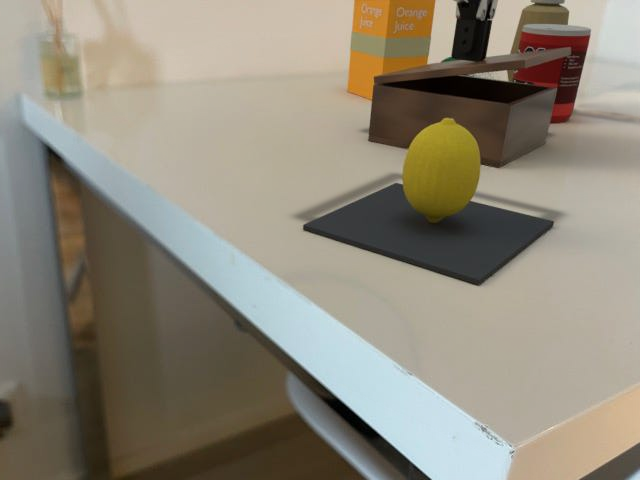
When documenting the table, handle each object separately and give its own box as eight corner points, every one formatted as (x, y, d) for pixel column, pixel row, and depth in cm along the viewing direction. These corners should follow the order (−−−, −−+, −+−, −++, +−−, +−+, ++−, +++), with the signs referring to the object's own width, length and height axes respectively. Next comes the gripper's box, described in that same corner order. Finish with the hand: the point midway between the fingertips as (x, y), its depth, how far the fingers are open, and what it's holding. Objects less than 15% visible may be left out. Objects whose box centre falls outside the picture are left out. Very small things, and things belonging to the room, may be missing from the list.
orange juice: (378, 102, 93) (394, -58, 84) (346, 91, 100) (357, -58, 91) (424, 99, 96) (444, -57, 87) (389, 88, 103) (404, -57, 94)
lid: (571, 54, 70) (571, 46, 70) (524, 68, 61) (524, 59, 61) (430, 70, 81) (430, 63, 80) (373, 84, 71) (373, 76, 71)
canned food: (502, 108, 91) (518, 22, 86) (564, 112, 90) (584, 25, 85) (510, 120, 84) (527, 28, 79) (576, 124, 83) (598, 31, 78)
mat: (553, 225, 52) (554, 221, 52) (478, 285, 42) (479, 279, 42) (395, 186, 60) (396, 182, 60) (302, 229, 50) (303, 224, 50)
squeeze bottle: (495, 93, 101) (518, -39, 93) (510, 85, 107) (533, -39, 99) (550, 100, 97) (579, -37, 89) (563, 92, 103) (591, -37, 95)
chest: (545, 143, 75) (557, 87, 72) (499, 167, 66) (511, 105, 63) (423, 121, 83) (430, 70, 81) (367, 140, 74) (373, 84, 72)
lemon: (449, 242, 47) (467, 131, 44) (383, 222, 51) (394, 117, 47) (483, 222, 51) (502, 118, 47) (419, 205, 54) (433, 106, 51)
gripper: (509, -159, 55) (471, 71, 63) (568, -139, 65) (528, 57, 73) (427, -153, 59) (401, 62, 67) (494, -135, 69) (465, 49, 78)
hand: (468, 59), depth 70 cm, fingers closed
